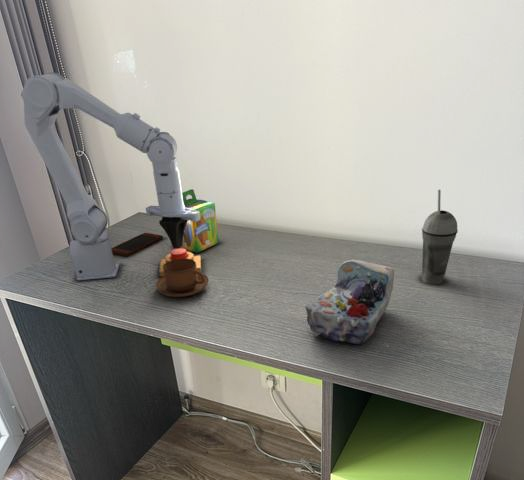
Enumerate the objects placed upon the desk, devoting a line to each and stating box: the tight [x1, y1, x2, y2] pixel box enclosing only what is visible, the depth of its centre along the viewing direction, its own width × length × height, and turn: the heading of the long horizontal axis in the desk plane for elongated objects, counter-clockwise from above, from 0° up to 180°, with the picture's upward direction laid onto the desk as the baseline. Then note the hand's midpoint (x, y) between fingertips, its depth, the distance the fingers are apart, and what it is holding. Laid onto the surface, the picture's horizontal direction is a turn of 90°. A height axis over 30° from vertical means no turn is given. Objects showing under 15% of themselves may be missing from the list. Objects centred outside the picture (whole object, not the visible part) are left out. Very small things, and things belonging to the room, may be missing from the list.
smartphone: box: [111, 232, 164, 257], centre depth 139 cm, size 7×1×15 cm
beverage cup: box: [421, 189, 458, 285], centre depth 106 cm, size 7×7×20 cm
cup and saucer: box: [155, 259, 209, 298], centre depth 112 cm, size 12×12×6 cm
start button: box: [169, 248, 188, 260], centre depth 122 cm, size 4×4×2 cm
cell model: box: [305, 259, 395, 345], centre depth 94 cm, size 13×11×20 cm
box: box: [158, 251, 202, 278], centre depth 123 cm, size 10×8×3 cm
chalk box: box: [180, 188, 220, 254], centre depth 133 cm, size 9×9×15 cm
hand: (177, 246), depth 121 cm, fingers closed
